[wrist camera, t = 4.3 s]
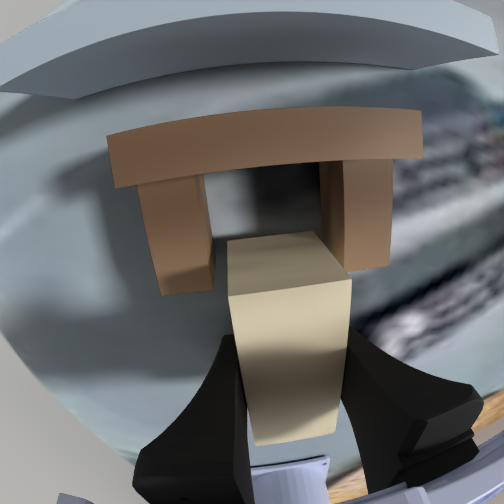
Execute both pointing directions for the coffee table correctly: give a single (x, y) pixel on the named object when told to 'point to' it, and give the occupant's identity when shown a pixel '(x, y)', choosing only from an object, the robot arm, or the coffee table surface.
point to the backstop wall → (232, 39)
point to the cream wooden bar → (289, 333)
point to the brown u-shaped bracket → (265, 154)
